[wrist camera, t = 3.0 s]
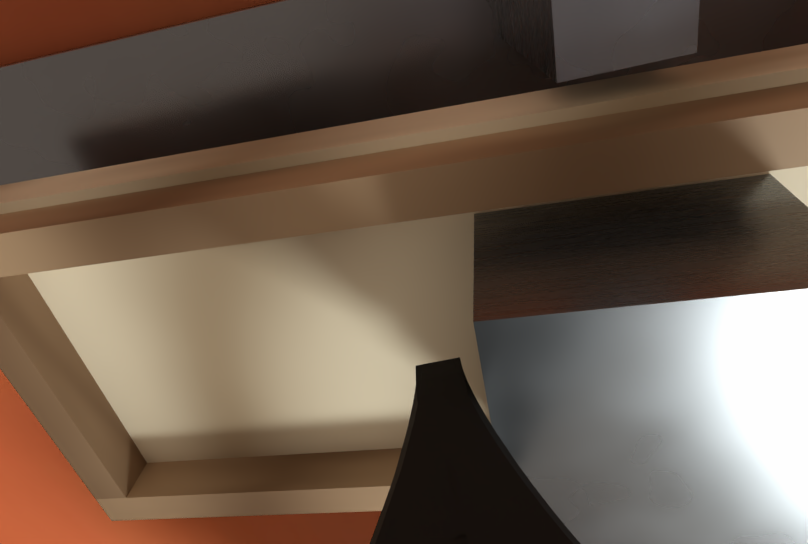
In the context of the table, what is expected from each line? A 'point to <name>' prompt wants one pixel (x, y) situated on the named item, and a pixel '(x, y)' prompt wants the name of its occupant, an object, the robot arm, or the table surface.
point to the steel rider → (653, 359)
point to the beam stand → (345, 69)
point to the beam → (325, 277)
